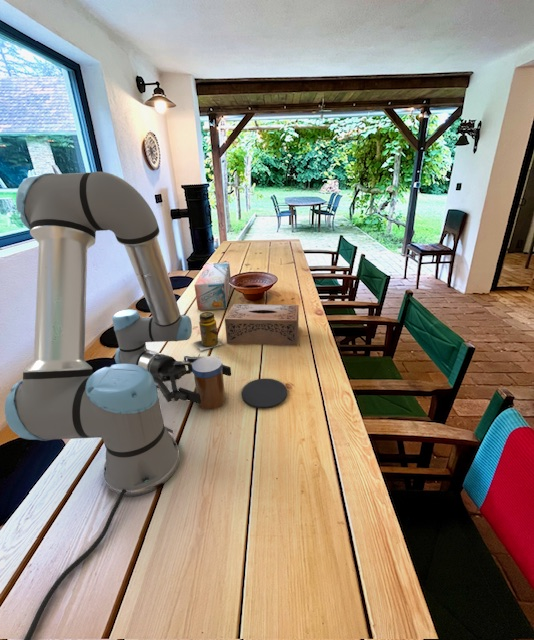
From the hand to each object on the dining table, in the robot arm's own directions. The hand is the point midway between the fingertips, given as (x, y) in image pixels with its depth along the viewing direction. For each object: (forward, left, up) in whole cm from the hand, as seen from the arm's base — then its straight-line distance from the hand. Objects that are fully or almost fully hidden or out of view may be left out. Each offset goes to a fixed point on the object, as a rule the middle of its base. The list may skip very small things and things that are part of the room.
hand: (216, 384), depth 86 cm
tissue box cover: (+41, +1, -6) cm, 42 cm away
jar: (0, +2, -6) cm, 6 cm away
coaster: (+7, -11, -6) cm, 14 cm away
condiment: (+29, +19, -6) cm, 35 cm away
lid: (0, +2, +6) cm, 6 cm away
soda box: (+77, +40, -6) cm, 87 cm away
